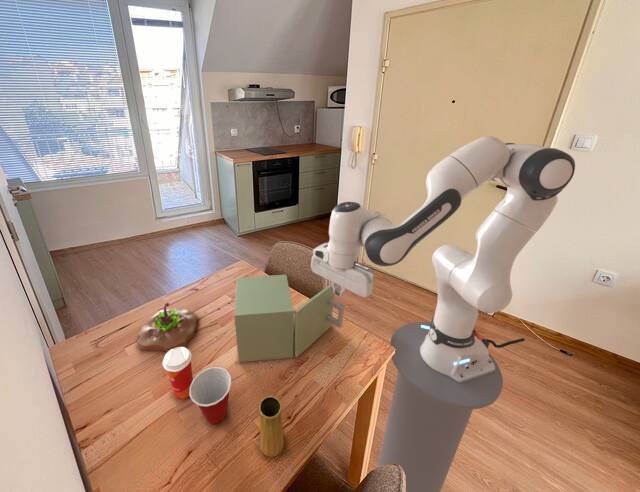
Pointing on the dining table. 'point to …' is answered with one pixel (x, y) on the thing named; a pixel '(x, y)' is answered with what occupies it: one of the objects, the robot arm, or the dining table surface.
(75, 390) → the dining table surface
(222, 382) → the plastic cup
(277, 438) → the vase
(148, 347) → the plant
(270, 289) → the cupboard
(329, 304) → the cupboard door
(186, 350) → the paper cup
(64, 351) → the dining table surface
